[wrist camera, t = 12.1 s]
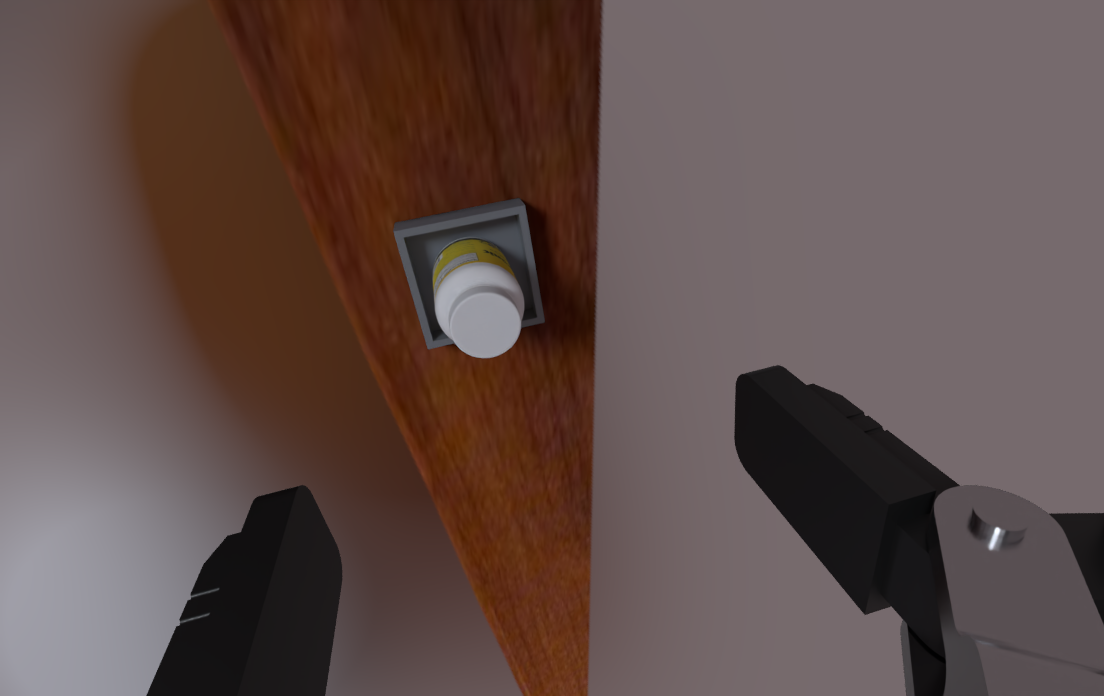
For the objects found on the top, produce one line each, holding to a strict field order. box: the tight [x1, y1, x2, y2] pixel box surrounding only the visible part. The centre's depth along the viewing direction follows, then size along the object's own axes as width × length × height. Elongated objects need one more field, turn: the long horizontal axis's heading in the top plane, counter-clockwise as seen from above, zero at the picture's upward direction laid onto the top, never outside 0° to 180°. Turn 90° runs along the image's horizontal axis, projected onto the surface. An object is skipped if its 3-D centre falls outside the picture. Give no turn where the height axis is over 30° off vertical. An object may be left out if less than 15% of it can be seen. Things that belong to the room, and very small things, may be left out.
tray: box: [393, 198, 545, 349], centre depth 38 cm, size 9×9×2 cm
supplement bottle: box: [432, 237, 524, 358], centre depth 34 cm, size 5×5×10 cm
